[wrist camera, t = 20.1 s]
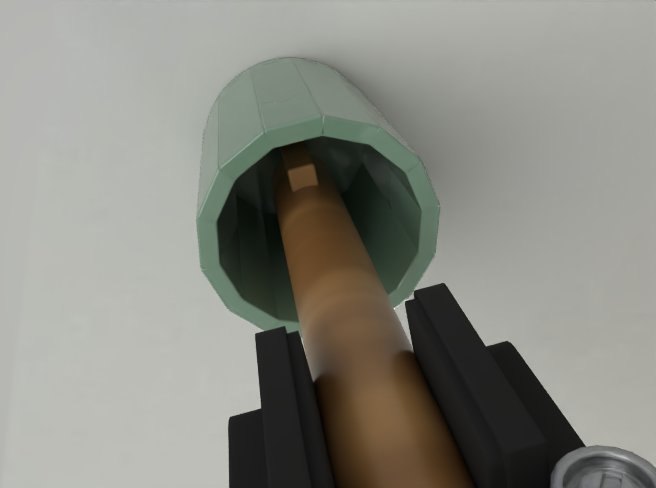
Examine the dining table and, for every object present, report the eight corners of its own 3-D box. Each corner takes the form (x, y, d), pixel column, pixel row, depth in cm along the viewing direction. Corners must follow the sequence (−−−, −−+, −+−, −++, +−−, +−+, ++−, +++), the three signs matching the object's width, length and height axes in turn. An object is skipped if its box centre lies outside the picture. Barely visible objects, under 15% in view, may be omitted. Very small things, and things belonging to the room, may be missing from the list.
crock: (179, 82, 21) (160, 156, 14) (357, 37, 22) (424, 88, 15) (230, 238, 24) (235, 363, 17) (386, 197, 25) (454, 304, 17)
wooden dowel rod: (259, 143, 20) (357, 662, 6) (320, 128, 20) (566, 601, 6) (283, 231, 21) (410, 817, 7) (339, 216, 21) (575, 765, 7)
